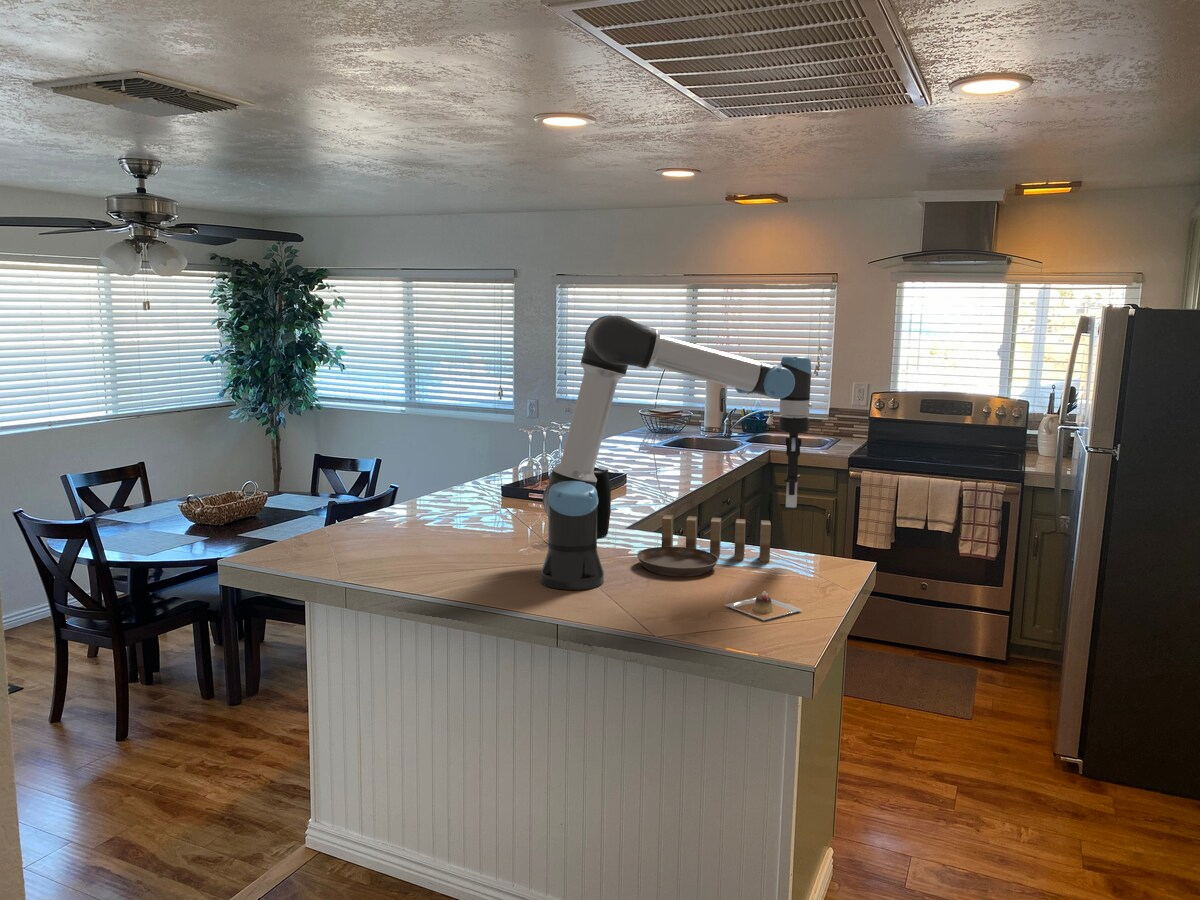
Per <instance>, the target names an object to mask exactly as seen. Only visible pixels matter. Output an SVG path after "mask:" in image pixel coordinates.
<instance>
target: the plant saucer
mask: <svg viewBox="0 0 1200 900" xmlns="http://www.w3.org/2000/svg"><path fill="white" fill-rule="evenodd" d="M636 557H637V559H638V560H639V562H640V563H641V565H642V566H643V567H644V568H645V569H647V570H648V571H650V572H652V573H654V574H658V575H663V576H668V577H669V576H670V577H693V576H694V577H696V576H700V575H704V574H707V573H708V572H709V571H711V570H713V568H714V567H716V565H717V563H718V562H719V559H718V558H717V557H716V556H715V555H714V554H712V553H710V551H705V550H702V549H697V548H696V549H693V548H686V546H682V547H681V546H673V547H662V546H657V547H649V548H645V549H643V550H640V551H639V552H637V555H636Z"/></svg>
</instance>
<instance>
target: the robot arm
mask: <svg viewBox="0 0 1200 900" xmlns="http://www.w3.org/2000/svg"><path fill="white" fill-rule="evenodd" d="M582 352H583V353H582V357H581V361H580V366H581V367H582V369H583V377H582V380H581V383H580V387H579V391H578V396H577V399H576V403H575V407H574V410H573V414H572V418H571V421H570V426H569V429H568V432H567V438H566V440H565V445H564V447H563V451H562V455H561V459H560V463H559V464H557V465H556V466H554V467H553V468H552V470H551V475H550V478H549V481H548V484H547V486H545V487H546V488H545V489H544V492H543V496H542V504H543V506H542V507H543V509H544V512H545V514H546V515H547V517H548V520H547V521H548V523H547V524H548V529H547V530H548V532H547V533H548V538H547V539H548V540H547V541H548V543H547V544H548V546H547V547H548V549H547V553H546V556H545V559H544V561H543V565H542V568H541V570H540V582H541V584H543V585H544V586H546V587H549V588H552V589H556V590H568V591H575V590H576V591H577V590H579V591H580V590H588V589H589V590H590V589H593V588H596V587H599V586H602V585H603V584H604V580H605V578H604V577H605V576H604V575H605V574H604V573H605V571H604V569H603V566H602V562H601V559H600V557H599V553H598V538H597V506H598V496H597V490H596V488H595V486H596V483H597V479H596V477H595V475H594V473H593V471H594V468H596V467H595V466H596V462H597V460H598V455H599V452H600V448H601V445H602V440H603V437H604V433H605V429H606V425H607V422H608V419H609V415H610V410H611V407H612V404H613V400H614V395H615V392H616V389H617V384H618V381H619V380H620V379H622V378H624V377H625V376H626V374H627V370H628V367H629V366H631V367H638V368H641V369H644V370H647V369H649V368H651V367H654V368H658V369H661V370H662V369H663V370H665V371H669V372H673V373H677V374H681V375H685V376H689V377H693V378H695V379H700V380H703V381H709V382H711V383H715V384H720V385H723V386H727V387H731V388H734V389H735V391H736V392H737V393H739V394H747V395H751V394H752V395H753V394H755V395H756V394H757V395H761V396H765V397H769V398H771V399H775V400H779V415H780V417H779V422H778V423H779V424H778V425H779V426H778V427H779V428H778V429H779V431H780V432H783V433H789V436H788V437H785V446H786V453H785V455H786V456H787V466H788V476H787V475H786V479H784V481H783V482H784V483H786V486H787V488H786V490H785V491H786V492H785V508H787V507H795V508H797V504H798V482H799V481H798V479H801V478H800V476H801V474H798V472H799V471H798V465H799V457H800V456H801V446H802V437H799V433H808V432H809V430H810V418H809V417H808V416H809V415H810V408H813V404H812V403H811V401H810V400H811V386H812V385H811V384H812V382H811V381H812V361H811V358H810V357H808V356H805V355H802V356H801V355H784V356H782V358H781V361H780V363H775V364H774V363H773V364H772V363H771V364H770V363H766V362H762V361H758V360H755V359H751V358H748V357H744V356H740V355H736V354H733V353H729V352H725V351H722V350H718V349H715V348H712V347H711V348H710V347H706V346H703V345H699V344H696V343H692V342H688V341H684V340H681V339H678V338H675V337H674V338H673V337H671V336H670V337H669V336H667V335H662V334H660V332H659V330H658V329H657V328H653V327H650V326H647V325H644V324H641V323H639V322H636V321H634V320H632V319H630V318H627V317H625V316H622V315H611V314H610V315H609V314H608V315H603V316H600V317H598V318H597V319H594V321H593V322H591V324H590V325H588V327H587V329H586V332H585V336H584V349H583V351H582ZM792 476H794V477H792Z"/></svg>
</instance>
